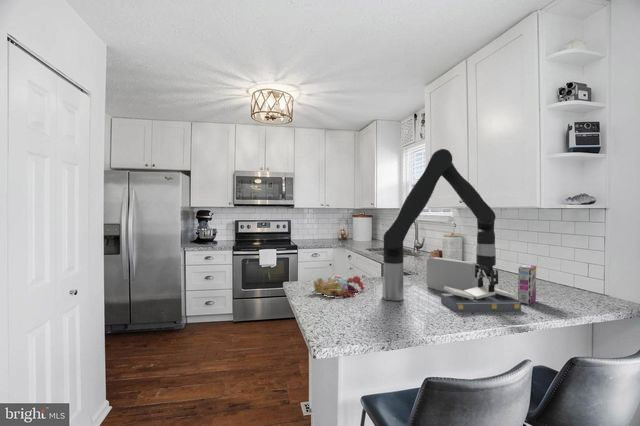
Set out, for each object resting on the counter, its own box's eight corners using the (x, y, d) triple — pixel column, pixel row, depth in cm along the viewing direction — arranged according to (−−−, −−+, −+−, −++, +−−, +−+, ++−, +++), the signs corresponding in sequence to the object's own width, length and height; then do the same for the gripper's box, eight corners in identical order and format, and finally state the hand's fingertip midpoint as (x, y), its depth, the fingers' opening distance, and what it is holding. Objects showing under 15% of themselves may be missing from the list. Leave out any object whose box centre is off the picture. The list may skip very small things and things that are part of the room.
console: (455, 311, 132) (455, 299, 132) (440, 302, 146) (440, 291, 146) (521, 311, 133) (521, 298, 133) (500, 301, 147) (500, 290, 147)
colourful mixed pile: (347, 302, 148) (347, 282, 148) (305, 295, 160) (305, 277, 160) (368, 291, 169) (368, 274, 169) (330, 286, 181) (330, 270, 181)
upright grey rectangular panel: (480, 296, 156) (480, 262, 156) (472, 298, 153) (472, 263, 153) (434, 286, 179) (434, 256, 179) (426, 287, 175) (426, 257, 175)
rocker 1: (454, 294, 134) (455, 291, 134) (443, 288, 144) (444, 286, 144) (473, 299, 134) (474, 296, 134) (461, 293, 145) (462, 290, 145)
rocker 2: (476, 299, 134) (476, 296, 134) (464, 292, 145) (463, 290, 145) (495, 294, 134) (495, 291, 134) (481, 288, 145) (481, 285, 145)
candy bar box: (530, 305, 141) (530, 268, 141) (517, 303, 145) (517, 266, 145) (536, 300, 149) (536, 265, 149) (524, 298, 152) (524, 264, 152)
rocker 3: (498, 293, 135) (499, 291, 135) (484, 288, 145) (485, 285, 145) (517, 298, 135) (517, 296, 135) (501, 292, 145) (502, 290, 145)
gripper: (469, 252, 147) (469, 287, 147) (486, 256, 132) (486, 295, 132) (485, 252, 147) (485, 287, 147) (504, 256, 133) (504, 295, 133)
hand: (485, 291), depth 140 cm, fingers open, 8 cm apart
